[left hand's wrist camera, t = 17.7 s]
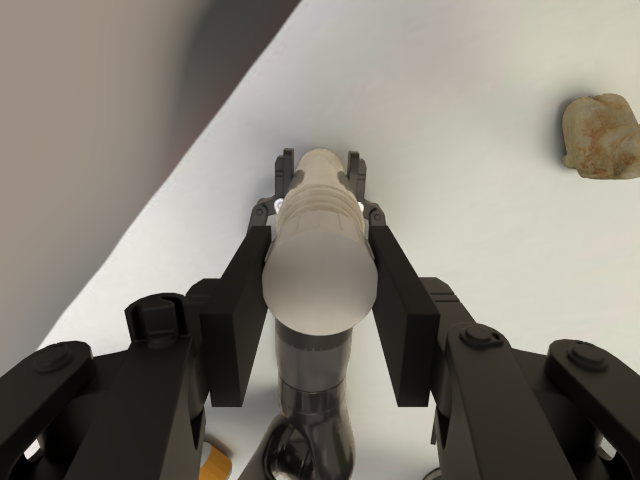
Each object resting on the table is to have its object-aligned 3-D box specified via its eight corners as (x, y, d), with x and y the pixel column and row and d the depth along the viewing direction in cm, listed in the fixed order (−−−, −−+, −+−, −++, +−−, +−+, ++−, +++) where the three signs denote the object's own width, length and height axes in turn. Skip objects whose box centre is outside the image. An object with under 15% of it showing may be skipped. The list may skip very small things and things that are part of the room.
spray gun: (206, 510, 54) (115, 472, 52) (252, 449, 48) (152, 404, 46) (195, 543, 50) (96, 503, 48) (244, 481, 44) (134, 433, 42)
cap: (360, 199, 13) (369, 218, 11) (377, 291, 15) (388, 325, 12) (258, 221, 14) (245, 243, 11) (284, 309, 15) (277, 345, 13)
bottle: (331, 200, 36) (350, 349, 13) (290, 183, 35) (238, 307, 13) (350, 159, 35) (407, 248, 12) (308, 140, 34) (283, 196, 11)
